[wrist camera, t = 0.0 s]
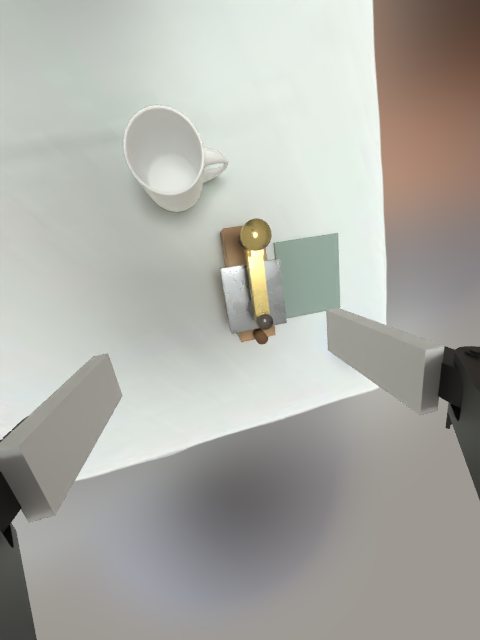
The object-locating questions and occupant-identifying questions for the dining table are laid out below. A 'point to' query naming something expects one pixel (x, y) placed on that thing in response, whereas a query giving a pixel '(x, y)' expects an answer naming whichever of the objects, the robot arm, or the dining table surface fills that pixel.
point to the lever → (257, 269)
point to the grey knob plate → (240, 295)
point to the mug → (169, 157)
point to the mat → (309, 274)
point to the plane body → (235, 257)
